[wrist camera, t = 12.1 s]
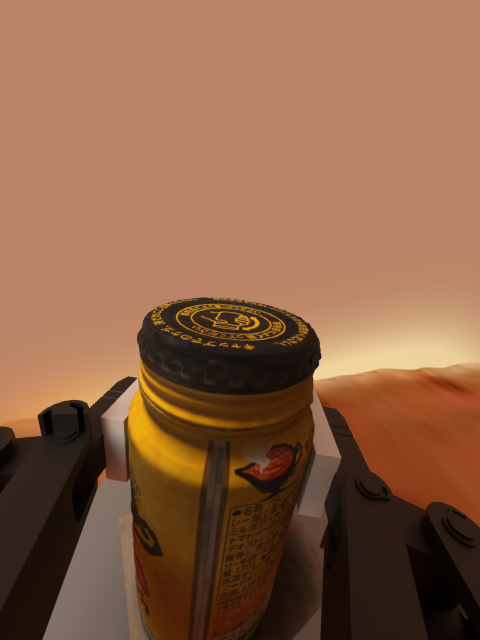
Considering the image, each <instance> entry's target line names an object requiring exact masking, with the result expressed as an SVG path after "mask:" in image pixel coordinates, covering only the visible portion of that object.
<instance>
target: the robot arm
mask: <svg viewBox="0 0 480 640" xmlns="http://www.w3.org/2000/svg"><path fill="white" fill-rule="evenodd" d="M138 378H139V377H138ZM138 378H135V377H126V378H124V379H122V380H121V381H118V382H117V383H116V384H115V385H114V386H113V387H112V388H111V389H110V390H109V391H107V392H106V393H105V394H104V395H103V397H101V398H100V399H99V400H98V401H97V402H96V403H95V404H93V405H92V406H91V407H90V408H89V406H88V404H87V403H85V402H83V401H80V400H69V401H63V402H60V403H57V404H54V405H52V406H50V407H48V408H46V409H45V410H43V411H42V412H41V413H40V414H39V415H38V420H39V425H40V430H41V434H42V436H36V437H26V438H15V434H14V432H13V430H12V429H11V428H8V427H0V640H43V637H44V634H45V632H46V629H47V626H48V623H49V621H50V618H51V615H52V612H53V610H54V607H55V604H56V601H57V599H58V596H59V593H60V590H61V588H62V585H63V582H64V579H65V577H66V574H67V571H68V568H69V566H70V563H71V560H72V557H73V555H74V552H75V549H76V546H77V544H78V541H79V538H80V535H81V533H82V530H83V527H84V524H85V522H86V519H87V516H88V513H89V511H90V508H91V505H92V502H93V500H94V497H95V494H96V491H97V486H98V479H97V478H98V477H99V476H100V474H101V473H102V471H103V470H104V469H105V467H106V477H107V479H111V480H117V481H122V482H128V480H129V478H130V467H129V442H128V437H127V435H128V431H127V427H128V415H129V407H130V404H131V400H132V398H133V396H134V395H135V393H136V391H137V390H138V388H139V383H138ZM313 398H314V399H313V403H312V404H311V405H310V408H311V410H312V415H313V418H314V424H315V431H314V439H313V444H312V447H311V452H310V455H309V459H308V463H307V466H306V470H305V474H304V477H303V480H302V483H301V487H300V490H299V494H298V497H297V501H296V503H297V510H298V514H301V515H307V516H312V517H317V518H321V515H322V512H323V509H324V507H325V511H326V515H327V519H328V523H327V526H326V529H325V531H324V534H323V537H322V539H321V543H320V547H319V548H321V549H323V548H324V563H323V586H322V609H321V633H320V640H480V528H479V527H478V526H477V524H475V523H474V522H473V521H472V520H471V519H470V518H468V517H467V516H466V515H465V514H463V513H462V512H460V511H459V510H457V509H455V508H454V507H452V506H450V505H447V504H444V503H442V502H432V503H431V504H429V505H428V507H427V508H426V510H424V509H421V508H419V507H417V506H415V505H413V504H411V503H408V502H406V501H404V500H402V499H400V498H398V497H396V496H394V495H393V494H392V492H391V490H390V488H389V487H388V486H387V485H386V483H385V482H384V481H383V480H382V479H381V478H379V477H378V476H377V475H376V474H374V473H372V472H371V471H370V470H369V468H368V466H367V464H366V462H365V460H364V458H363V456H362V453H361V451H360V449H359V447H358V445H357V443H356V441H355V439H354V438H353V435H352V433H351V431H350V429H349V427H348V425H347V423H346V421H345V419H344V417H343V416H342V415H341V414H340V413H339V412H338V411H337V410H336V409H334V408H327V407H322V406H321V403H320V400H319V398H318V395H317V392H316V390H315V387H314V385H313Z"/></svg>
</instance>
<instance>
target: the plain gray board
mask: <svg viewBox="0 0 480 640" xmlns="http://www.w3.org/2000/svg"><path fill="white" fill-rule="evenodd" d="M294 511H295V512H296V514H297V515H298V516H299V518H300V519H301V520H302V522H303V523H304V524H305V525H306V527H307V528H308V529H309V531H310V532H311V534H312V535H313V536H314V538H315V539H316V540H317V542H318V543H319V544H320V543H321V539H322V537H323V534H324V531H325V529H326V526H327V523H328V519H327V515H326V511H325V507H324V509H323V512H322V515H321V518H317V517H312V516H307V515H301V514H298V510H297V503H296V505H295V509H294ZM129 513H131V484H130V478H129V480H128V482H122V481H117V480H111V479H107V477H106V478H105V479H104V481H103V482H102V484H101V485H100V487H99V488H98V490H97V491H96V494H95V497H94V500H93V502H92V505H91V508H90V511H89V513H88V516H87V519H86V522H85V524H84V527H83V530H82V533H81V535H80V538H79V541H78V544H77V546H76V549H75V552H74V555H73V557H72V560H71V563H70V566H69V568H68V571H67V574H66V577H65V579H64V582H63V585H62V588H61V590H60V593H59V596H58V599H57V601H56V604H55V607H54V610H53V612H52V615H51V618H50V621H49V623H48V626H47V629H46V632H45V634H44V637H43V640H130V630H129V620H128V609H127V600H126V590H125V578H124V568H123V558H122V547H121V537H120V527H119V517H120V516H123V515H126V514H129ZM323 550H324V548H323ZM321 609H322V606H321V607H320V608H319V609H318V611H317V612H316V613H315V614H314V615H313V616H312V618H311V619H310V620H309V621H308V622H307V623H306V625H305V626H304V627H303V628H302V629H301V630H300V632H299V633H298V634H297V635H296V636H295V637H294V638H293V639H292V640H320V633H321Z"/></svg>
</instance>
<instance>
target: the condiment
mask: <svg viewBox="0 0 480 640" xmlns="http://www.w3.org/2000/svg"><path fill="white" fill-rule="evenodd" d="M137 342H138V344H139V351H140V357H141V361H140V365H141V367H140V370H139V378H138V383H139V388H138V390H137V391H136V393H135V395H134V396H133V398H132V400H131V404H130V407H129V415H128V427H127V431H128V435H127V437H128V442H129V467H130V484H131V513H129V514H126V515H123V516H120V517H119V527H120V537H121V547H122V558H123V568H124V578H125V590H126V600H127V609H128V620H129V630H130V640H292V639H293V638H294V637H295V636H296V635H297V634H298V633H299V632H300V630H301V629H302V628H303V627H304V626H305V625H306V623H307V622H308V621H309V620H310V619H311V618H312V616H313V615H314V614H315V613H316V612H317V611H318V609H319V608H320V607H321V606H322V586H323V563H324V550H323V549H321V548H319V547H320V544H319V543H318V542H317V540H316V539H315V538H314V536H313V535H312V534H311V532H310V531H309V529H308V528H307V527H306V525H305V524H304V523H303V522H302V520H301V519H300V518H299V516H298V515H297V514H296V512H295V511H294V509H295V505H296V501H297V497H298V494H299V490H300V487H301V483H302V480H303V477H304V474H305V470H306V466H307V463H308V459H309V455H310V452H311V447H312V444H313V439H314V431H315V424H314V418H313V415H312V410H311V408H310V405H311V404H312V403H313V399H314V398H313V374H314V371H315V369H316V368H317V367H318V366H319V360H320V359H321V352H320V342H319V339H318V337H317V335H316V333H315V331H314V329H313V328H312V327H311V326H310V324H309V323H306V322H305V321H304V320H303V319H302V318H300V317H298V316H296V315H294V314H291V313H289V312H287V311H285V310H280V309H278V308H275V307H272V306H269V305H264V304H260V303H255V302H247V301H244V300H236V299H235V300H234V299H225V298H193V299H182V300H176V301H173V302H169V303H166V304H163V305H161V306H158V307H157V308H155V309H154V310H152V311H151V312H149V313H148V314H147V315H146V317H145V318H144V320H143V325H142V328H141V330H140V331H139V333H138V336H137Z"/></svg>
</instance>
